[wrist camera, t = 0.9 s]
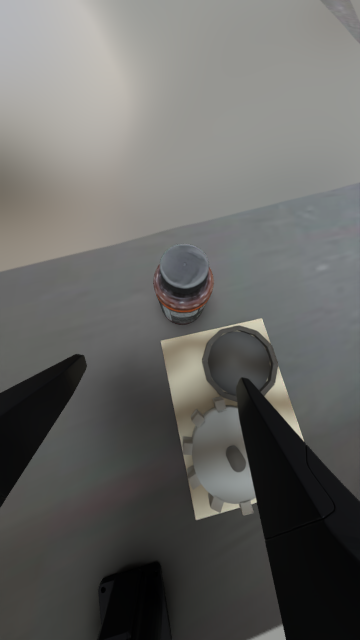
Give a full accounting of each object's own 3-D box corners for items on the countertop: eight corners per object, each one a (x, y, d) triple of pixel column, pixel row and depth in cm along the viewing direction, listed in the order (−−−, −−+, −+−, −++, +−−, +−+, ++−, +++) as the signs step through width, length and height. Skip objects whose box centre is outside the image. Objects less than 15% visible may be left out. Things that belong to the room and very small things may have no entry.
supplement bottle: (166, 284, 24) (157, 225, 13) (204, 291, 24) (227, 238, 13) (157, 321, 23) (138, 290, 12) (198, 329, 23) (216, 305, 12)
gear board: (311, 477, 19) (346, 509, 15) (195, 511, 18) (199, 554, 14) (258, 319, 23) (274, 312, 19) (161, 341, 22) (157, 338, 18)
